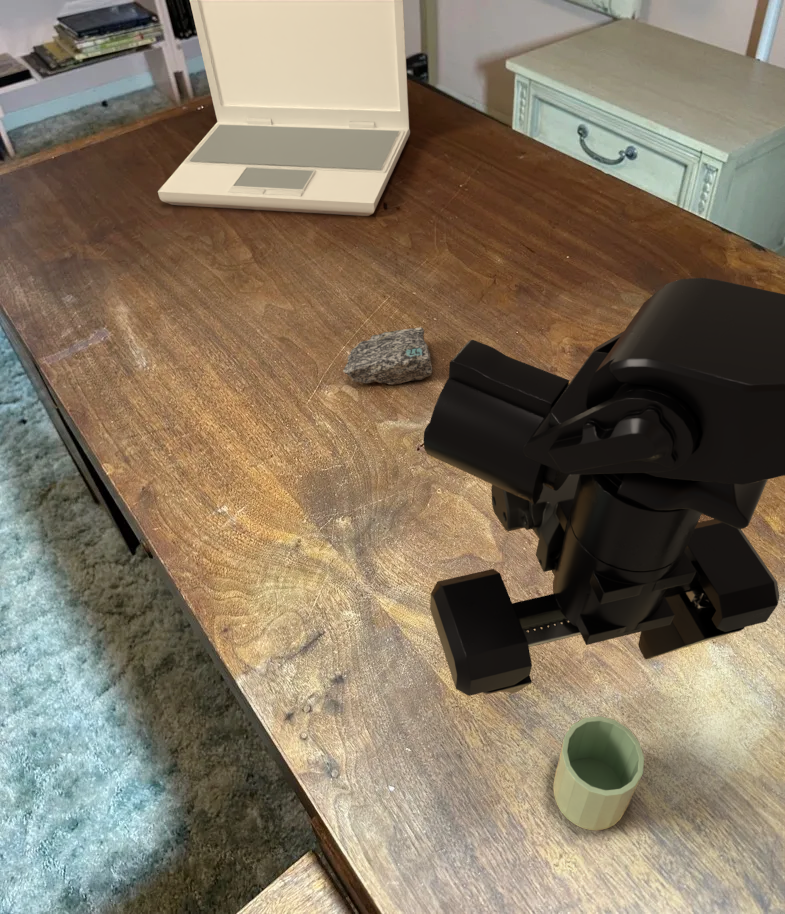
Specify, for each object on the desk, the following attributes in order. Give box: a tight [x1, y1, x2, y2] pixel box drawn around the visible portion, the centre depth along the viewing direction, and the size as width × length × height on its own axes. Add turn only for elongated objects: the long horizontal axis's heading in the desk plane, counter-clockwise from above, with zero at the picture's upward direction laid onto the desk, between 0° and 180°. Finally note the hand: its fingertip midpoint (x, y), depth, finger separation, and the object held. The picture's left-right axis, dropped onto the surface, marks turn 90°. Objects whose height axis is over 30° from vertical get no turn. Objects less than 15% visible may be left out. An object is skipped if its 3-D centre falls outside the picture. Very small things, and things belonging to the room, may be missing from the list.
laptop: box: [157, 0, 411, 217], centre depth 116 cm, size 35×26×28 cm
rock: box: [342, 327, 433, 385], centre depth 89 cm, size 8×10×4 cm
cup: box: [552, 715, 645, 831], centre depth 54 cm, size 5×5×7 cm
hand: (578, 668), depth 49 cm, fingers open, 9 cm apart
